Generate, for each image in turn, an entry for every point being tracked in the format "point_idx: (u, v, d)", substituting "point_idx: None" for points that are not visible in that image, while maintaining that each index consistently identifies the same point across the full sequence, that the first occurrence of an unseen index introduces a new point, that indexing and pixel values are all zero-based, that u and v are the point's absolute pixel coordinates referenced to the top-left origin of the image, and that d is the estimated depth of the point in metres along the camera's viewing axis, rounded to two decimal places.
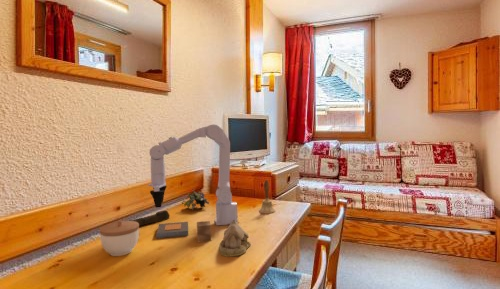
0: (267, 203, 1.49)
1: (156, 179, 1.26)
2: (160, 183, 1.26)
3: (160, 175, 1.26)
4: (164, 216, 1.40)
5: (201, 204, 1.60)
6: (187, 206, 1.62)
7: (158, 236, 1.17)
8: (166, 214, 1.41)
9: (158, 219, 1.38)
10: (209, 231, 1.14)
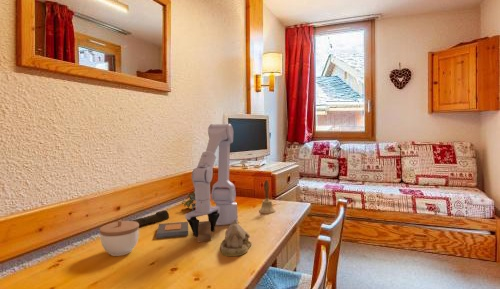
0: (267, 203, 1.49)
1: (196, 205, 1.14)
2: (198, 211, 1.13)
3: (198, 202, 1.13)
4: (164, 216, 1.40)
5: None
6: (187, 206, 1.62)
7: (158, 236, 1.17)
8: (166, 214, 1.41)
9: (158, 219, 1.38)
10: (209, 231, 1.14)
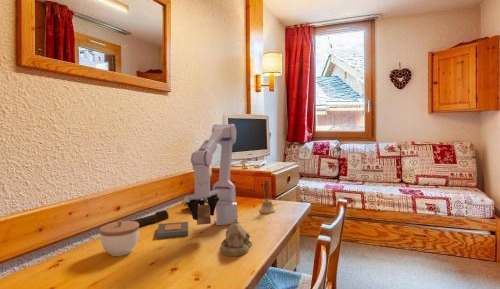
0: (267, 203, 1.49)
1: (195, 188, 1.13)
2: (198, 193, 1.12)
3: (198, 185, 1.12)
4: (164, 216, 1.41)
5: (201, 204, 1.60)
6: (187, 206, 1.62)
7: (158, 236, 1.17)
8: (165, 214, 1.42)
9: (158, 219, 1.38)
10: (209, 214, 1.14)
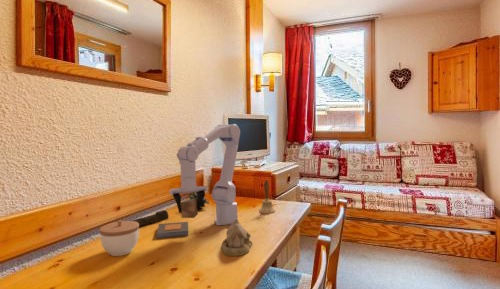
0: (267, 203, 1.49)
1: (181, 182, 1.18)
2: (182, 188, 1.16)
3: (182, 179, 1.16)
4: (164, 216, 1.41)
5: (201, 204, 1.60)
6: None
7: (158, 236, 1.17)
8: (165, 214, 1.42)
9: (158, 219, 1.38)
10: (192, 208, 1.16)
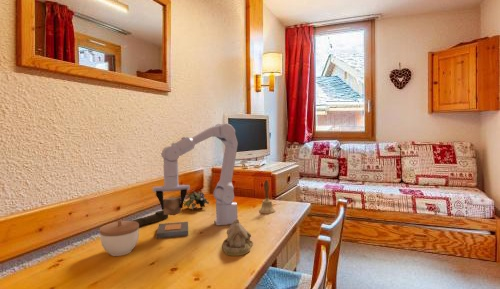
0: (267, 203, 1.49)
1: None
2: (164, 186, 1.22)
3: (164, 177, 1.21)
4: (163, 216, 1.41)
5: (201, 204, 1.60)
6: (187, 206, 1.62)
7: (158, 236, 1.17)
8: None
9: (158, 219, 1.38)
10: (173, 206, 1.21)
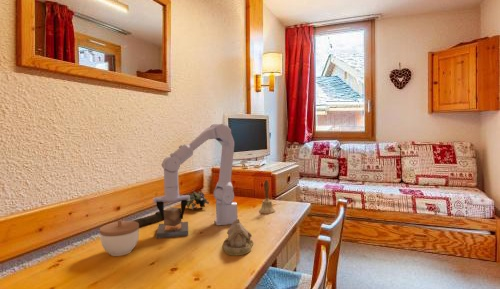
0: (267, 203, 1.49)
1: None
2: (165, 196, 1.22)
3: (164, 188, 1.22)
4: None
5: (201, 204, 1.60)
6: (187, 206, 1.62)
7: (158, 236, 1.17)
8: None
9: (158, 219, 1.38)
10: (173, 217, 1.21)
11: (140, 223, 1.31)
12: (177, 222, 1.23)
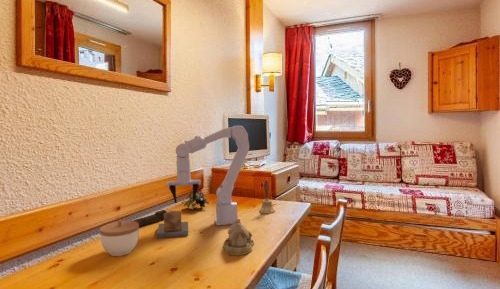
0: (267, 203, 1.49)
1: (177, 175, 1.31)
2: (177, 180, 1.30)
3: (177, 173, 1.30)
4: (163, 216, 1.41)
5: (201, 204, 1.60)
6: (187, 206, 1.62)
7: (158, 236, 1.17)
8: None
9: (157, 219, 1.38)
10: (173, 220, 1.21)
11: (140, 223, 1.31)
12: (177, 225, 1.23)
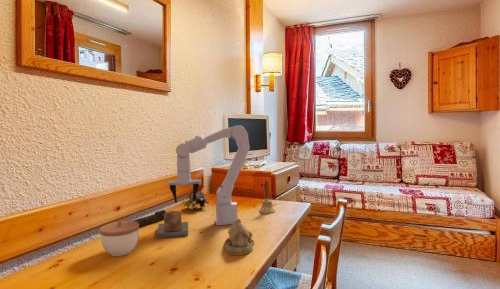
0: (267, 203, 1.49)
1: (177, 175, 1.32)
2: (178, 180, 1.31)
3: (177, 172, 1.30)
4: (163, 216, 1.41)
5: (201, 204, 1.60)
6: (187, 206, 1.62)
7: (158, 236, 1.17)
8: None
9: (157, 219, 1.38)
10: (173, 220, 1.21)
11: (140, 223, 1.31)
12: (177, 225, 1.23)
